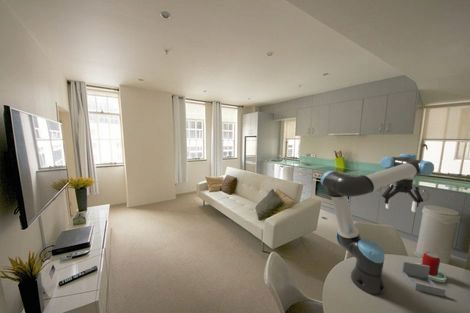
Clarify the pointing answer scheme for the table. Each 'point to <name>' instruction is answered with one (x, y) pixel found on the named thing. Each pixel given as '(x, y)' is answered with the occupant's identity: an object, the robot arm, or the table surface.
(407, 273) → the bay
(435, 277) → the tray
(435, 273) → the beverage can
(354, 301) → the table surface
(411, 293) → the table surface
